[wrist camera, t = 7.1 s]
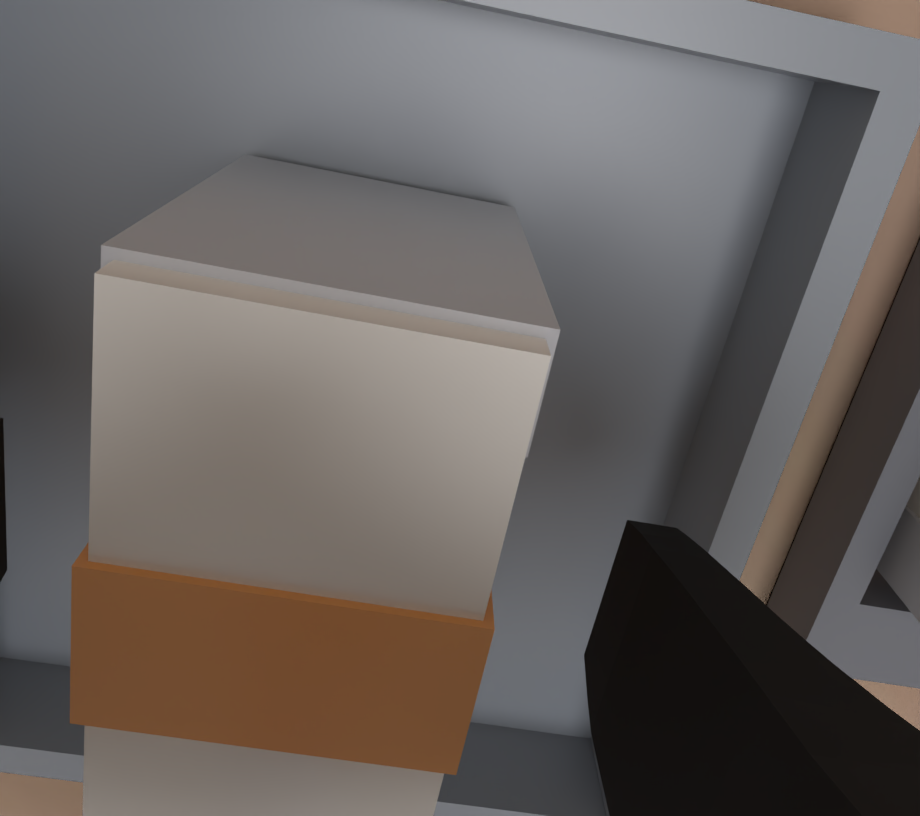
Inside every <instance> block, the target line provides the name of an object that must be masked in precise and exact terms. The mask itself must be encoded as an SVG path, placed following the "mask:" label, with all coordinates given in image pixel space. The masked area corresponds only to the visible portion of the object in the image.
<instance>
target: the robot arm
mask: <svg viewBox="0 0 920 816" xmlns="http://www.w3.org/2000/svg"><path fill="white" fill-rule="evenodd" d="M6 571H7V539H6V502H5V465H4V428H3V418H0V582H1V580H2V578H3V577H4V575H5V573H6ZM584 661H585V674H586V687H587V699H588V709H589V719H590V728H591V735H592V739H593V744H594V749H595V754H596V758H597V762H598V767H599V771H600V776H601V780H602V785H603V789H604V794H605V798H606V802H607V807H608V811H609V815H610V816H920V731H919V730H918V729H916V728H915V727H914V726H912V725H911V724H910V723H908V722H907V721H906V720H904V719H903V718H902V717H900V716H899V715H898V714H896V713H895V712H894V711H892V710H891V709H890V708H888V707H887V706H886V705H884V704H883V703H882V702H880V701H879V700H878V699H877V698H875V697H874V696H873V695H872V694H871V693H869V692H868V691H867V690H866V689H864V688H863V687H862V686H861V685H859V684H858V683H857V682H856V681H854V680H853V679H852V678H851V677H849V676H848V675H847V674H846V673H844V672H843V671H842V670H841V669H839V668H838V667H837V666H836V665H834V664H833V663H832V662H831V661H830V660H828V659H827V658H826V657H825V656H824V655H823V654H821V653H820V652H819V651H818V650H817V649H816V648H814V647H813V646H812V645H811V644H810V643H808V642H807V641H806V640H805V639H804V638H803V637H801V636H800V635H799V634H798V633H797V632H796V631H795V630H793V629H792V628H791V627H790V626H789V625H788V624H787V623H786V622H784V621H783V620H782V619H781V618H780V617H779V616H778V615H777V614H775V613H774V612H773V611H772V610H771V609H770V608H769V607H768V606H766V605H765V604H764V603H763V602H762V601H761V600H760V599H759V598H758V597H756V596H755V595H754V594H753V593H752V592H751V591H750V590H749V589H748V588H747V587H745V586H744V585H743V584H742V583H741V582H740V581H739V580H738V579H737V578H736V577H734V576H733V575H732V574H731V573H730V572H729V571H728V570H727V569H726V568H724V567H723V566H722V565H721V564H720V563H719V562H718V561H717V560H716V559H714V558H713V557H712V556H711V555H710V554H709V553H708V552H706V551H705V550H704V549H703V548H702V547H701V546H699V545H698V544H697V543H696V542H695V541H693V540H692V539H691V538H690V537H688V536H687V535H686V534H684V533H683V532H682V531H680V530H679V529H678V528H675V527H669V526H662V525H656V524H650V523H644V522H638V521H632V520H627V522H626V525H625V528H624V531H623V534H622V538H621V541H620V544H619V547H618V550H617V553H616V556H615V559H614V563H613V566H612V569H611V572H610V575H609V578H608V581H607V584H606V588H605V591H604V594H603V597H602V600H601V603H600V606H599V609H598V613H597V616H596V619H595V622H594V625H593V628H592V631H591V634H590V638H589V641H588V644H587V647H586V650H585V653H584Z"/></svg>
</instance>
